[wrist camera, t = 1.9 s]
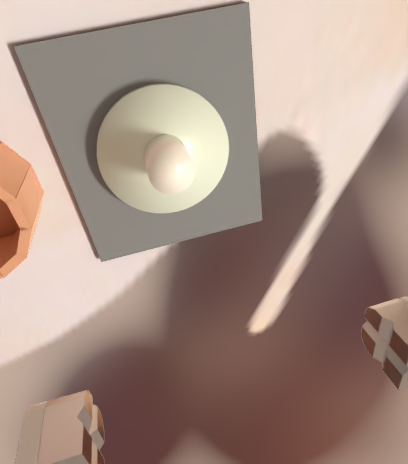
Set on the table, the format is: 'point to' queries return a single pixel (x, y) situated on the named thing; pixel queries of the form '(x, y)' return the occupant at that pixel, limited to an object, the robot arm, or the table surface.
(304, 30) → the table surface
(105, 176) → the lid
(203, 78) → the mat
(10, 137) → the table surface
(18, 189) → the cup
